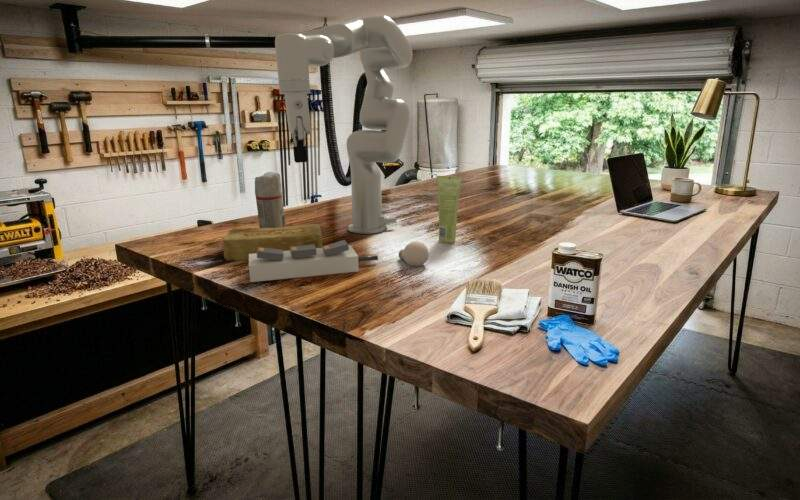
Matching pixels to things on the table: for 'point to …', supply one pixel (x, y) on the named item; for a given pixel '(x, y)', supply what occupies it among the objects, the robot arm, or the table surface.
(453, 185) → the tube
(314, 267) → the power strip
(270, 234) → the brick
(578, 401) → the table surface
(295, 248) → the plate
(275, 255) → the block
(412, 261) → the light bulb
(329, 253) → the block
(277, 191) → the grey cylinder
